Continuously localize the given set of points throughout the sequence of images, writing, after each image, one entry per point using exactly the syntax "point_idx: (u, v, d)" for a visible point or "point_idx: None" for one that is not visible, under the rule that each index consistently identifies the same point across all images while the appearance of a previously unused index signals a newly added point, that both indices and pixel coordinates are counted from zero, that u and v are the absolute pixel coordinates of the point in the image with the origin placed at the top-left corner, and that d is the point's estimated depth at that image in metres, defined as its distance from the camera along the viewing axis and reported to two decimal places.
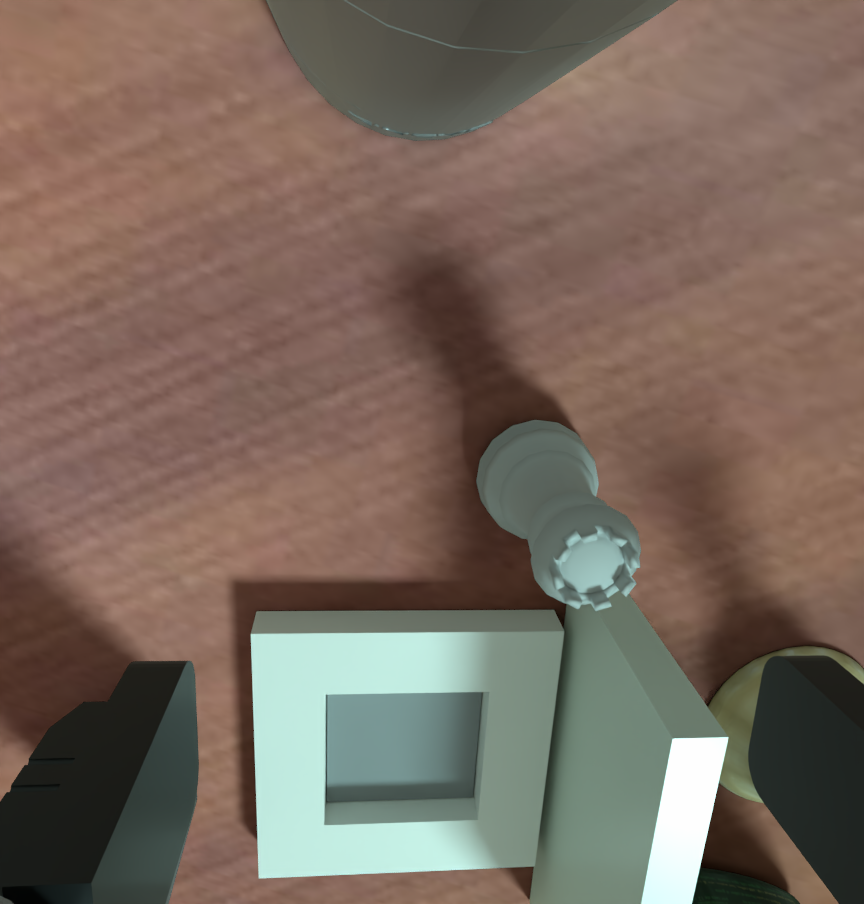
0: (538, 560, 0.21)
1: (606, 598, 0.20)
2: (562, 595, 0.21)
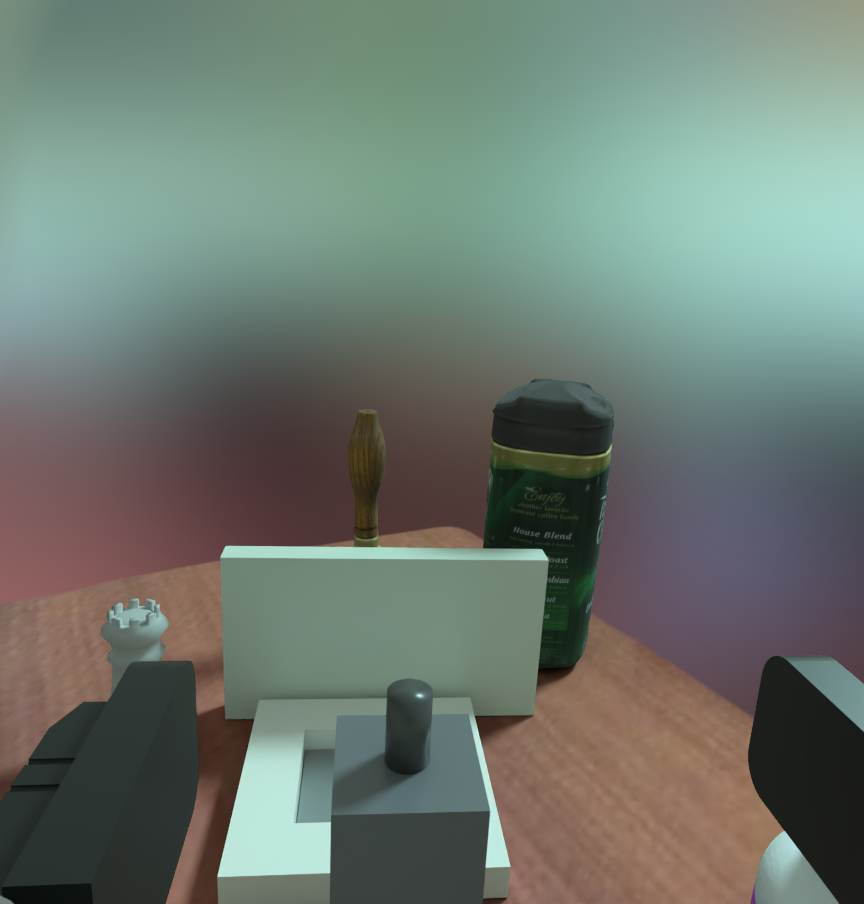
0: (126, 637, 0.36)
1: (153, 606, 0.37)
2: (150, 625, 0.36)
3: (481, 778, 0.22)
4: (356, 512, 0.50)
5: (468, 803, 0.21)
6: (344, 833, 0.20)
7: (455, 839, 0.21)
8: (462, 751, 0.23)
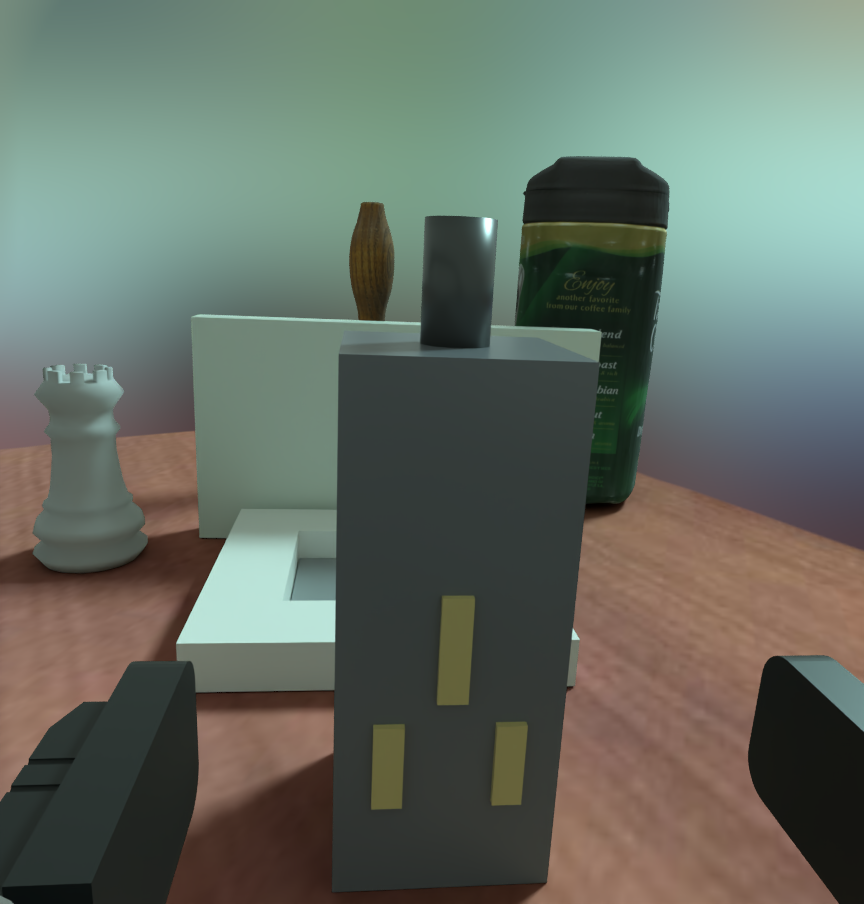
0: (66, 393, 0.28)
1: (104, 368, 0.29)
2: (99, 383, 0.28)
3: (575, 353, 0.14)
4: None
5: (562, 358, 0.13)
6: (361, 391, 0.12)
7: (542, 414, 0.13)
8: (537, 345, 0.15)
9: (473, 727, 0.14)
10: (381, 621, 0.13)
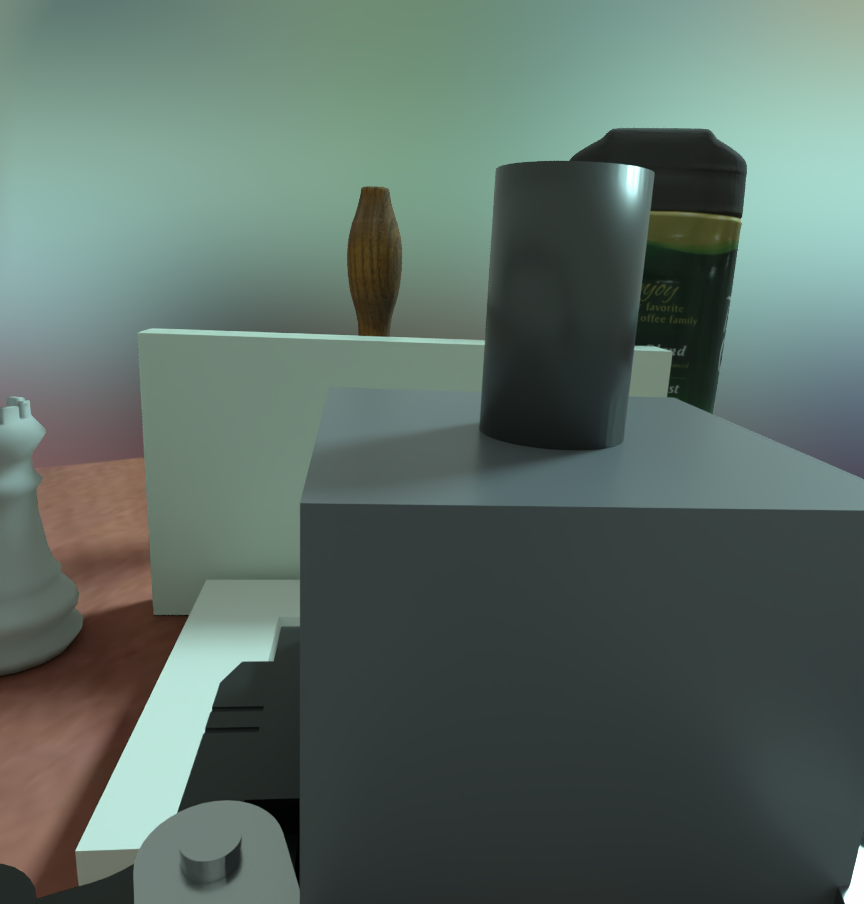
0: None
1: None
2: (7, 425, 0.21)
3: (818, 461, 0.06)
4: None
5: (833, 496, 0.05)
6: (358, 592, 0.05)
7: (791, 632, 0.05)
8: (708, 429, 0.08)
9: None
10: None
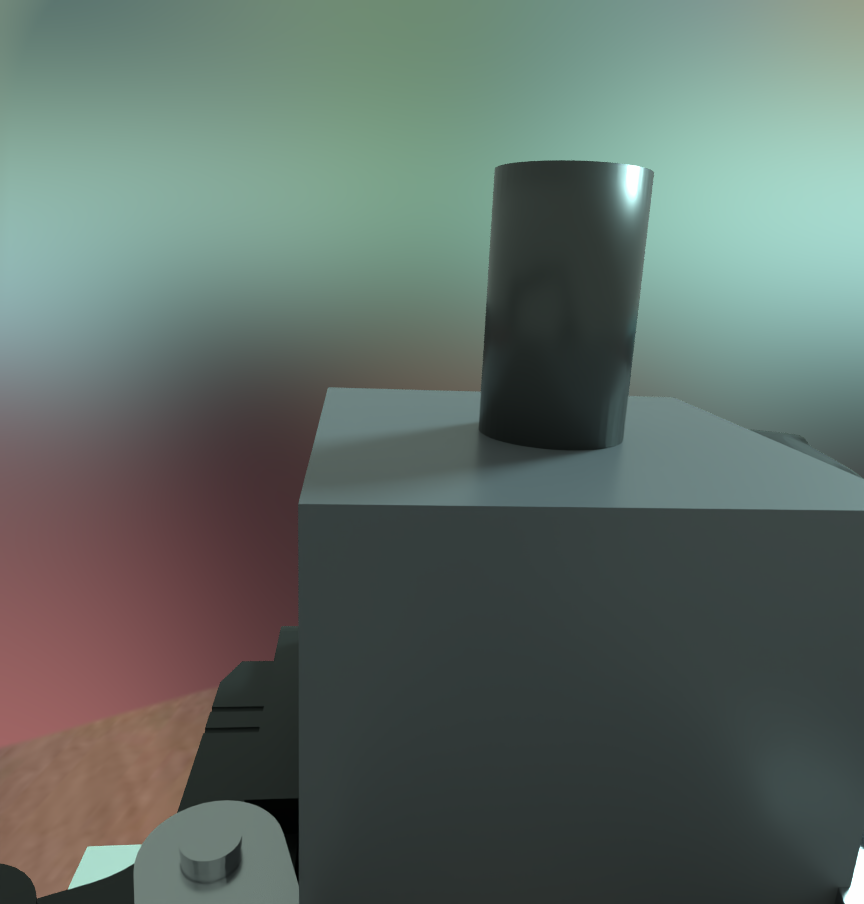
0: None
1: None
2: None
3: (818, 461, 0.06)
4: None
5: (833, 496, 0.05)
6: (357, 591, 0.05)
7: (791, 632, 0.05)
8: (707, 429, 0.08)
9: None
10: None
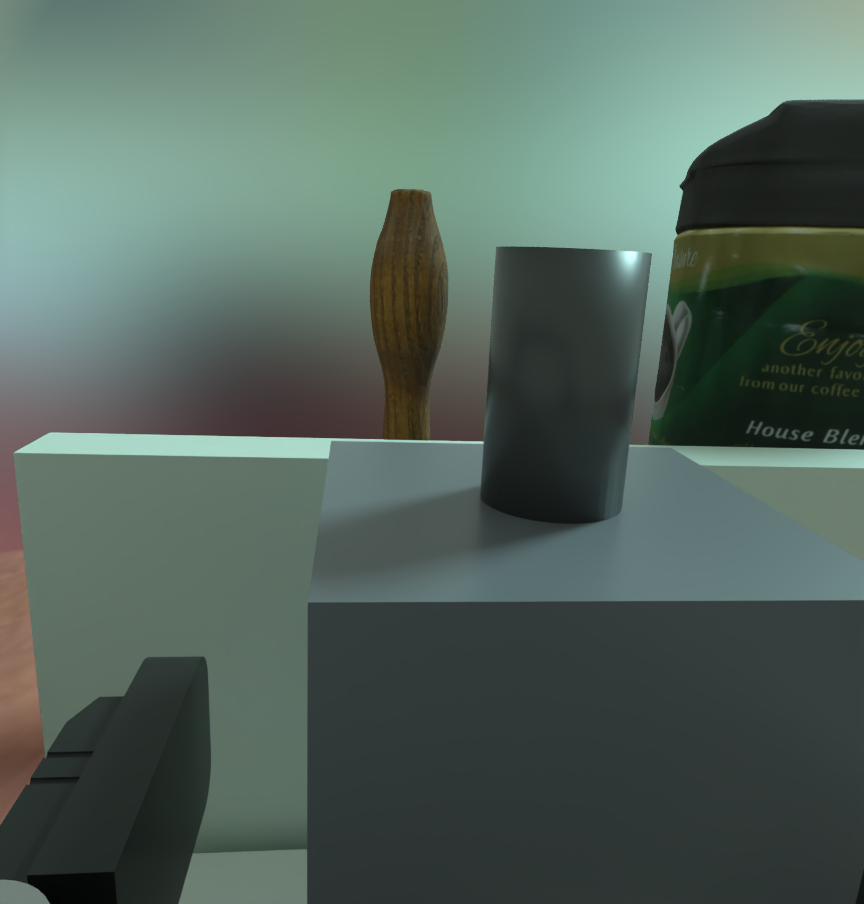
0: None
1: None
2: None
3: (812, 534, 0.07)
4: (387, 411, 0.24)
5: (825, 581, 0.06)
6: (364, 685, 0.05)
7: (784, 715, 0.05)
8: (705, 491, 0.08)
9: None
10: None
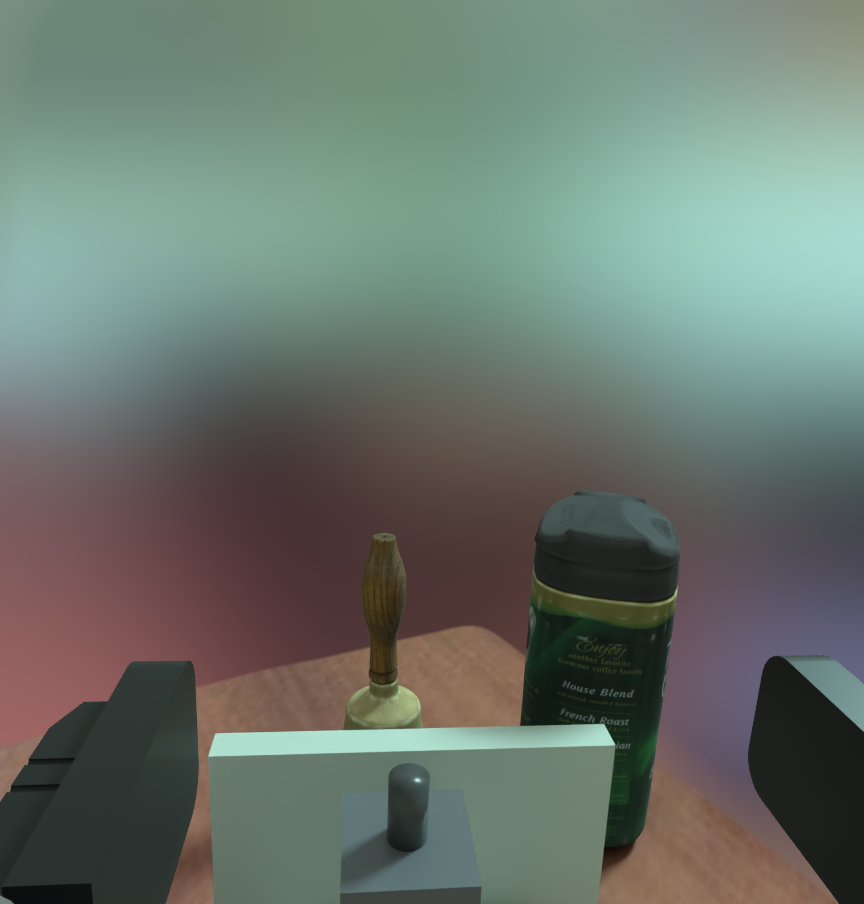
0: None
1: None
2: None
3: (473, 854, 0.24)
4: (372, 653, 0.42)
5: (462, 879, 0.23)
6: None
7: None
8: (456, 827, 0.26)
9: None
10: None
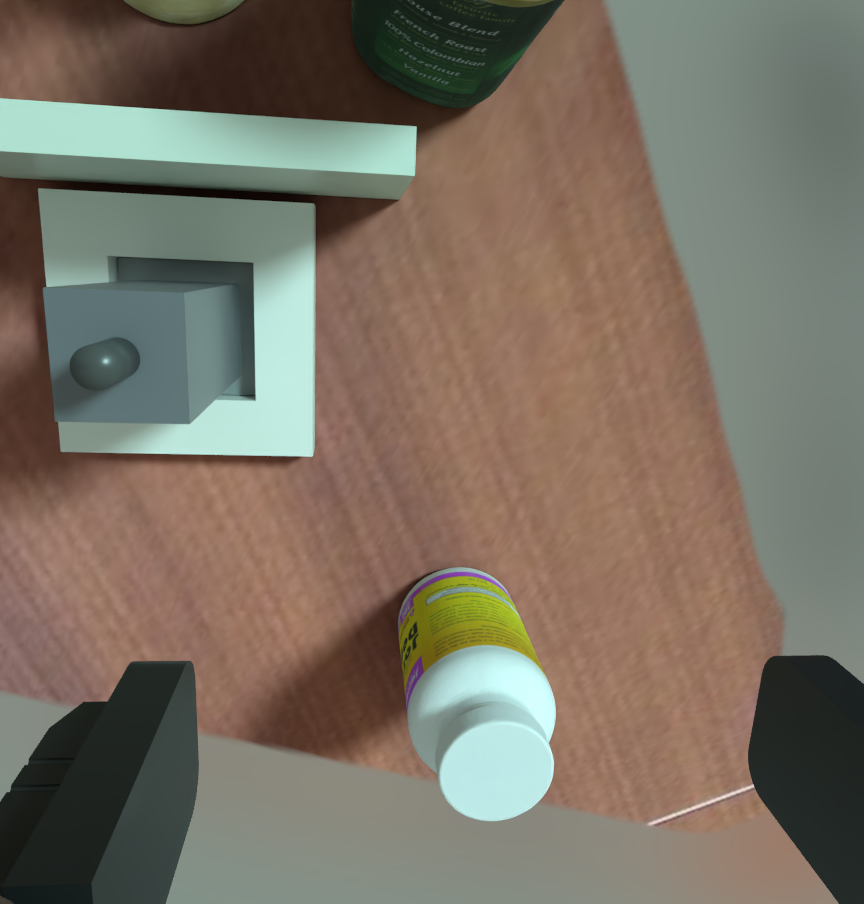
0: None
1: None
2: None
3: (186, 386, 0.25)
4: None
5: (172, 414, 0.25)
6: None
7: None
8: (172, 350, 0.24)
9: None
10: None
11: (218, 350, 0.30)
